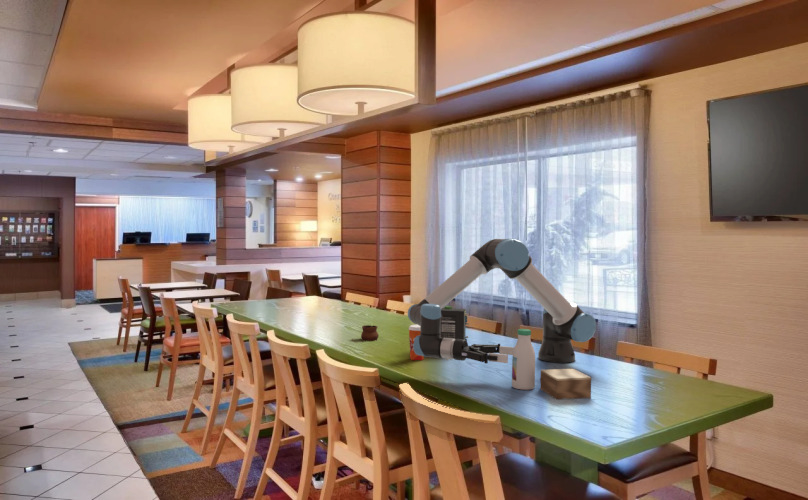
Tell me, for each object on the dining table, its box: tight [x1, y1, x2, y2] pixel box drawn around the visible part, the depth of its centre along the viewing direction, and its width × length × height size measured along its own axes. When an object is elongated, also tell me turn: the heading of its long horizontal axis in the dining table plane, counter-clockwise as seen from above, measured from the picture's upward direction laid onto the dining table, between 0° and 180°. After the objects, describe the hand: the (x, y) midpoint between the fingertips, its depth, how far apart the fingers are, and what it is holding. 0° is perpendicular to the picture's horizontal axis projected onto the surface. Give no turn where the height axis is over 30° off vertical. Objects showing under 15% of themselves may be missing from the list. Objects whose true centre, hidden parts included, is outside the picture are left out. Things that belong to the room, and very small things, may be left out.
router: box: [440, 305, 470, 342], centre depth 253 cm, size 8×18×20 cm, turn 78°
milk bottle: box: [511, 328, 536, 391], centre depth 194 cm, size 8×8×20 cm
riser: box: [540, 368, 592, 400], centre depth 188 cm, size 12×12×7 cm
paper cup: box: [408, 324, 425, 361], centre depth 236 cm, size 8×8×14 cm
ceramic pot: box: [351, 324, 379, 342], centre depth 280 cm, size 18×18×7 cm
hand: (512, 355), depth 196 cm, fingers open, 13 cm apart
